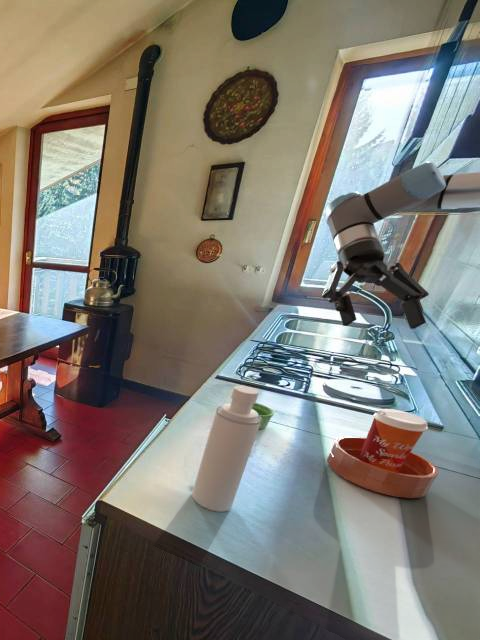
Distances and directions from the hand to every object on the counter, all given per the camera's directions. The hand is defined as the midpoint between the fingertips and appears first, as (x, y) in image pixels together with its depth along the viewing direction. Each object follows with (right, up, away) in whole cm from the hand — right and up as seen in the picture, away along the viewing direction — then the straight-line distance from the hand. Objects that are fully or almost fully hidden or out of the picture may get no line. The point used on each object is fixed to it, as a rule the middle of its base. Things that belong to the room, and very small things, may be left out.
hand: (383, 324), depth 87 cm
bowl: (-7, -33, -4) cm, 34 cm away
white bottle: (-46, -36, -12) cm, 60 cm away
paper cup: (-7, -33, -4) cm, 34 cm away
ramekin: (-17, -24, +18) cm, 35 cm away
